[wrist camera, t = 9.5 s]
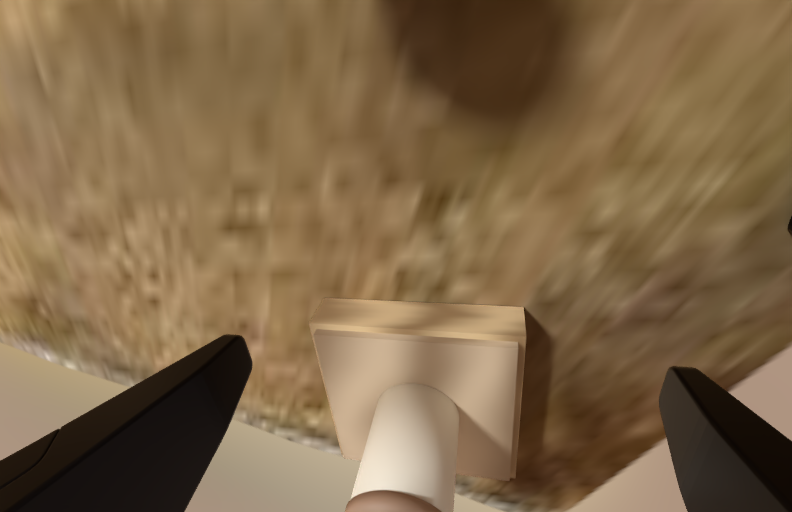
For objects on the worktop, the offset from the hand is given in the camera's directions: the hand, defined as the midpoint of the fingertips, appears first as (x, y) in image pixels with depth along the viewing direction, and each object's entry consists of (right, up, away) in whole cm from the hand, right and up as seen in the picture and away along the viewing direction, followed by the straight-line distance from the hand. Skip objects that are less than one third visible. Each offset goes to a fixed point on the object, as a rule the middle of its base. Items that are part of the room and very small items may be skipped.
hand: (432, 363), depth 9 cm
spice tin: (0, -7, +16) cm, 17 cm away
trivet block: (+1, -6, +18) cm, 19 cm away
